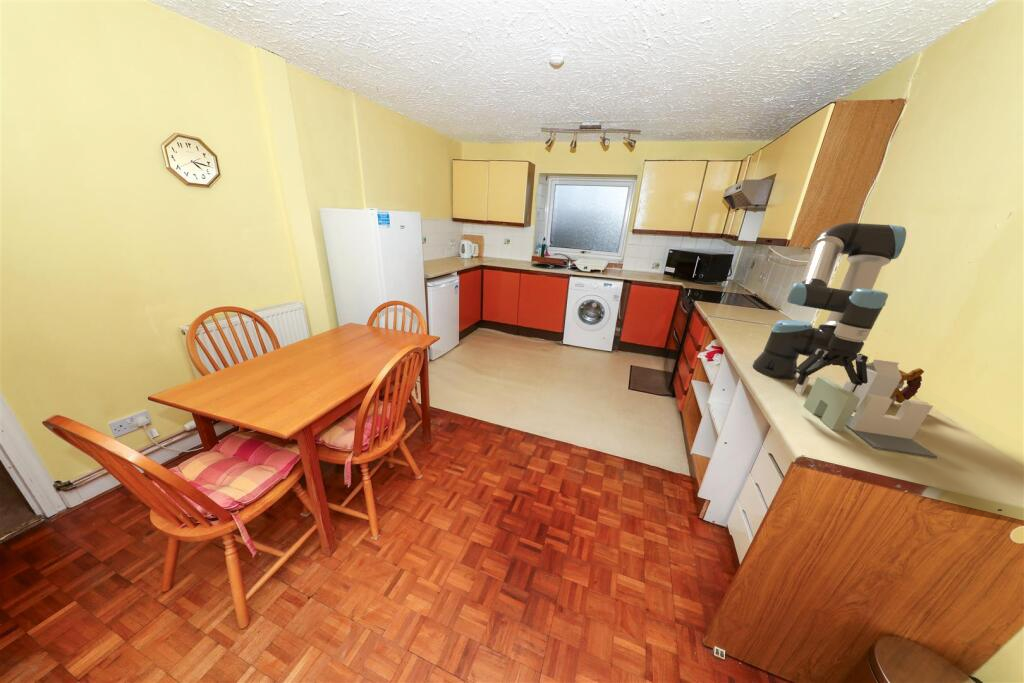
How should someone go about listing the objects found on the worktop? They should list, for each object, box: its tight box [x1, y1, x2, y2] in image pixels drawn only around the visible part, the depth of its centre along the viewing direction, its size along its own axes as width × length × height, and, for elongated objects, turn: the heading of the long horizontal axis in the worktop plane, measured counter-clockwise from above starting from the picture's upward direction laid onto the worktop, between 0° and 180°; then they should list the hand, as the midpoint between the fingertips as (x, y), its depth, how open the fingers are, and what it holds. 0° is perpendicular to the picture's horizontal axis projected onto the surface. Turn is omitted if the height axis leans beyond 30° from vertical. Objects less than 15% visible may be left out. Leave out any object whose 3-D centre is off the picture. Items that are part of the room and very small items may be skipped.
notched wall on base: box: [845, 394, 939, 459], centre depth 100 cm, size 16×18×13 cm
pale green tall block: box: [803, 376, 860, 432], centre depth 107 cm, size 14×3×12 cm, turn 170°
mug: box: [889, 367, 925, 407], centre depth 122 cm, size 11×16×15 cm, turn 71°
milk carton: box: [852, 359, 902, 413], centre depth 114 cm, size 7×7×19 cm
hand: (820, 396), depth 111 cm, fingers open, 13 cm apart
